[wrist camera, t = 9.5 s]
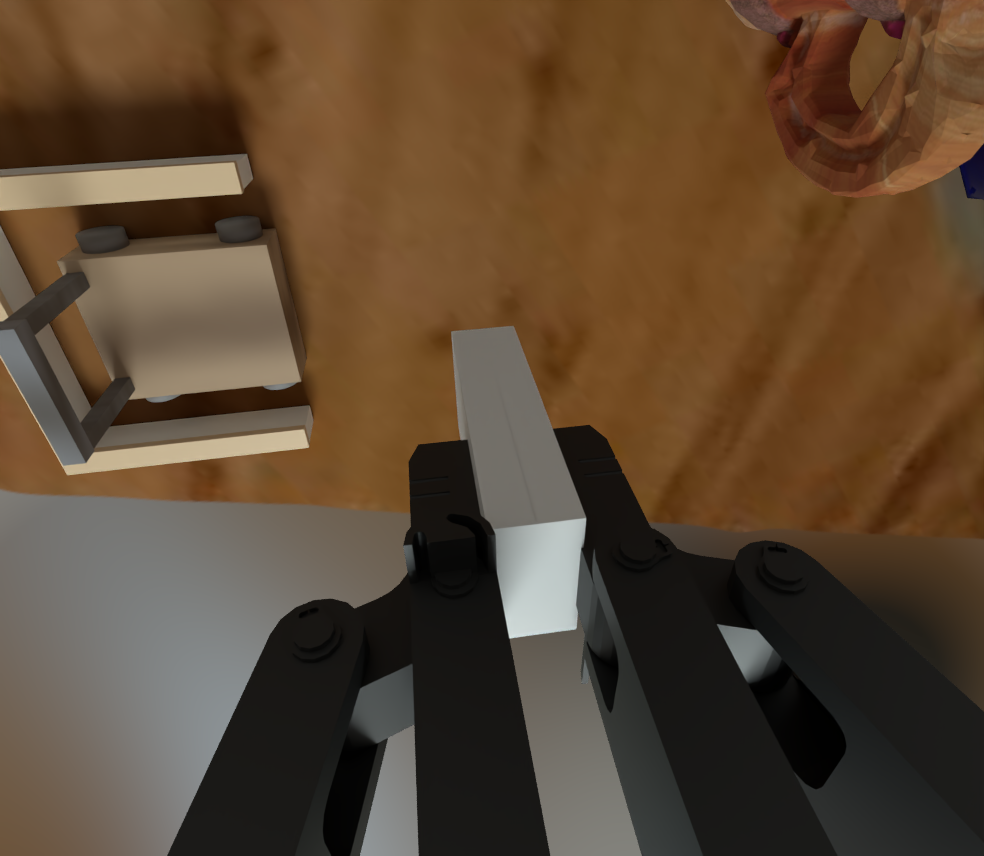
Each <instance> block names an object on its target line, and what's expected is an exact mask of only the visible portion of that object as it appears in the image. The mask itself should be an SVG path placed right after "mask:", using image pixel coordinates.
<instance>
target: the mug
mask: <svg viewBox="0 0 984 856" xmlns="http://www.w3.org/2000/svg"><path fill="white" fill-rule="evenodd" d="M725 1H726V2H727V3H728V4H729V5H730V7H731V8H732V9H733V11H734V13H735V14H736V16H737V17H738V18H739V19H740V20H741V21H742V22H743V23H744V24H745V26H747V27H749V28H753V29H756V30H763V31H766V32H769V33H771V34H774V35H776V36H777V39H778V41H779V42H780V43H781V44H782V45H783V46H785V47H788V48H791V49H790V51H789V52H788V54H787V56H786V58H785V59H784V61H783V62H782V64H781V66H780V67H779V69H778V70H777V72H776V73H775V75H774V76H773V78H772V80H771V82H770V84H769V86H768V88H767V90H766V92H765V94H766V98H767V101H768V104H769V107H770V111H771V114H772V117H773V120H774V123H775V127H776V130H777V133H778V135H779V137H780V140H781V142H782V144H783V147H784V150H785V154H786V156H787V157H788V159H789V160H790V162H791V163H792V164H793V166H794V167H795V168H796V169H797V170H798V171H799V172H800V173H801V174H802V175H803V176H804V177H805V178H806V179H808V180H809V181H811V182H812V183H813V184H815V185H816V186H818V187H820V188H823V189H825V190H828V191H830V192H831V193H832V194H833V195H842V196H849V197H856V198H857V197H866V196H873V195H881V194H892V195H894V194H896V193H900V192H906V191H909V190H912V189H915V188H917V187H920V186H922V185H924V184H926V183H929V182H931V181H933V180H935V179H938V178H940V177H942V176H944V175H945V174H947V173H948V172H950V171H952V170H953V169H955V168H957V167H958V166H960V165H961V164H963V163H965V162H966V161H968V160H969V159H971V158H972V157H973V155H974V154H975V153H976V152H977V151H978V150H979V148H980V147H981V146H982V145H983V144H984V0H725ZM868 18H872V19H875V20H878V21H880V22H881V24H882V26H883V28H884V30H885V32H886V33H887V34H888V35H889V36H891V37H894V38H898V39H901V42H900V46H899V50H898V54H897V57H896V59H895V62H894V64H893V66H892V67H891V69H890V70H889V72H888V73H887V74H886V76H885V77H884V79H883V80H882V82H881V83H880V84H879V86H878V87H877V89H876V90H875V92H874V93H873V95H872V96H871V97H870V99H869V100H868V102H867V104H866V105H865V107H864V109H863V110H862V111H860V109H859V107H858V106H857V104H856V102H855V100H854V99H853V96H852V93H851V90H850V87H849V82H850V59H851V55H852V53H853V51H854V49H855V47H856V45H857V43H858V40H859V37H860V34H861V32H862V30H863V28H864V26H865V24H866V22H867V19H868Z"/></svg>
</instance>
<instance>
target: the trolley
mask: <svg viewBox="0 0 984 856" xmlns="http://www.w3.org/2000/svg"><path fill="white" fill-rule="evenodd" d="M215 227H216V230H217V233H209V234H196V235H183V236H170V237H157V238H144V239H130V240H128V237H127V235H126V232H125V229H124V227H122V226H101V227H95V228H90V229H87V230H83V231H81V232H78V233H77V234H76V235H75V236H76V238H77V241H78V243H79V245H80V246H78V247H77V248H75V249H74V250H72V251H71V252H70V253H68V254H67V255H65V256H64V257H63V258H61V259H60V260H58V261H57V263H58V265H59V268H60V270H61V272H62V274H63V276H62V277H61V278H59V279H58V280H57V281H55V282H54V283H53V284H52V285H50V286H49V287H48V288H46V289H45V290H44V291H42V292H41V293H40V294H38V295H37V296H36V297H34V298H33V299H32V300H30V301H29V302H28V303H26V304H25V305H24V306H22V307H21V308H20V309H19V310H17V311H16V312H15V313H13V314H12V315H11V316H9V317H8V318H7V319H5V320H4V321H0V355H1V357H2V359H3V361H4V362H5V364H6V366H7V368H8V369H9V371H10V373H11V375H12V376H13V378H14V380H15V382H16V384H17V385H18V387H19V389H20V391H21V392H22V394H23V396H24V398H25V399H26V401H27V403H28V405H29V406H30V408H31V410H32V412H33V413H34V415H35V417H36V419H37V420H38V422H39V424H40V426H41V427H42V429H43V431H44V433H45V434H46V436H47V438H48V440H49V442H50V443H51V445H52V447H53V449H54V450H55V452H56V454H57V456H58V457H59V459H60V461H61V463H62V464H63V466H66V465H75V464H83V463H87V461H88V460H89V458H90V457H91V455H92V454H93V452H94V451H95V450H94V448H95V447H96V445H97V444H98V442H99V441H100V440H101V438H102V437H103V435H104V434H105V432H106V431H107V429H108V428H109V427H110V425H111V424H112V422H113V421H114V419H115V418H116V417H117V415H118V414H119V412H120V411H121V409H122V408H123V407H124V405H125V404H126V402H127V401H128V400H131V399H140V398H146V400H148V401H150V402H164V401H168V400H171V399H174V398H176V397H178V396H180V395H181V394H189V393H198V392H208V391H218V390H227V389H237V388H247V387H256V386H263V387H264V388H266V389H269V390H280V389H285V388H288V387H291V386H293V385H294V384H296V383H297V382H301V380H302V376H303V372H304V368H305V363H306V359H307V357H306V353H305V349H304V345H303V340H302V336H301V332H300V328H299V324H298V320H297V315H296V311H295V307H294V303H293V299H292V295H291V290H290V286H289V282H288V278H287V274H286V270H285V265H284V261H283V257H282V253H281V249H280V245H279V240H278V236H277V232H276V228H275V229H262V228H261V224H260V220H259V218H258V217H256V216H236V217H230V218H225V219H222V220H219V221H217V222H216V223H215ZM74 301H75V302H76V304H77V307H78V309H79V311H80V313H81V315H82V317H83V320H84V322H85V324H86V326H87V328H88V330H89V333H90V335H91V337H92V339H93V341H94V343H95V346H96V348H97V350H98V352H99V354H100V356H101V359H102V361H103V363H104V365H105V367H106V369H107V371H108V374H109V376H110V378H111V380H112V383H111V384H110V385H109V387H108V388H107V389H106V390H105V392H104V393H103V394H102V396H101V397H100V398H99V399H98V401H97V402H96V403H95V405H94V406H93V407H92V408H91V410H90V411H89V412H88V414H87V415H86V416H85V417H84V419H83V420H82V421H81V423H80V421H79V419H78V417H77V416H76V414H75V412H74V410H73V408H72V406H71V404H70V402H69V400H68V398H67V396H66V394H65V393H64V391H63V389H62V387H61V385H60V383H59V381H58V379H57V377H56V375H55V373H54V371H53V370H52V368H51V366H50V364H49V362H48V360H47V358H46V356H45V354H44V352H43V350H42V348H41V346H40V345H39V343H38V341H37V339H36V337H35V335H36V334H37V333H38V332H39V331H40V330H42V329H43V328H44V327H45V326H46V325H47V324H49V323H50V322H51V321H52V320H53V319H54V318H55V317H57V316H58V315H59V314H60V313H61V312H62V311H63V310H65V309H66V308H67V307H68V306H69V305H70V304H72V303H73V302H74Z"/></svg>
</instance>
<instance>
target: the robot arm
mask: <svg viewBox="0 0 984 856" xmlns="http://www.w3.org/2000/svg"><path fill="white" fill-rule="evenodd" d="M451 334H452V347H453V360H454V373H455V386H456V399H457V413H458V425H459V432H460V438H461V440H458V441H448V442H439V443H429V444H420V445H418V446H417V448H416V450H415V452H414V453H413V455H412V457H411V459H410V460H409V482H410V484H409V485H410V513H411V528H410V529H409V530H408V531H407V533H406V537H405V541H404V545H403V547H404V553H405V558H406V564H407V570H408V573H407V575H406V576H405V578H404V579H403V580H402V581H401V583H400V584H399V585H398V586H397V587H395V588H394V589H393V590H392V591H390V592H389V593H388V594H386V595H384V596H382V597H380V598H378V599H376V600H374V601H371V602H369V603H367V604H364V605H362V606H360V607H357V608H355V609H354V608H353V607H352V606H351V605H349V604H348V603H346V602H342V601H339V600H335V599H322V600H313V601H311V602H308V603H306V604H303V605H301V606H298V607H296V608H295V609H293V610H292V611H291V612H290V613H288V614H287V615H286V616H284V617H283V618H282V619H281V620H280V621H279V622H278V624H277V625H276V627H275V628H274V630H273V631H272V633H271V634H270V636H269V638H268V640H267V642H266V645H265V647H264V649H263V651H262V653H261V655H260V657H259V660H258V662H257V664H256V666H255V668H254V671H253V672H252V675H251V677H250V679H249V681H248V683H247V685H246V687H245V690H244V692H243V694H242V696H241V698H240V701H239V703H238V705H237V707H236V709H235V711H234V713H233V715H232V718H231V720H230V722H229V724H228V727H227V728H226V731H225V733H224V735H223V737H222V739H221V741H220V743H219V745H218V748H217V750H216V752H215V754H214V756H213V758H212V761H211V763H210V765H209V767H208V769H207V771H206V773H205V776H204V778H203V780H202V782H201V784H200V786H199V789H198V791H197V793H196V795H195V797H194V799H193V801H192V803H191V806H190V808H189V810H188V812H187V814H186V816H185V819H184V821H183V823H182V825H181V827H180V829H179V831H178V834H177V836H176V838H175V840H174V842H173V844H172V846H171V849H170V851H169V853H168V855H167V856H360V852H361V848H362V844H363V840H364V835H365V832H366V827H367V823H368V819H369V815H370V811H371V806H372V802H373V798H374V794H375V790H376V786H377V782H378V777H379V773H380V769H381V765H382V761H383V756H384V752H385V748H386V744H387V740H388V737H390V736H392V735H394V734H396V733H398V732H400V731H402V730H404V729H406V728H408V727H410V726H412V725H414V726H415V754H416V755H415V756H416V785H417V816H418V845H419V856H550V852H549V847H548V841H547V836H546V831H545V826H544V820H543V815H542V809H541V804H540V799H539V793H538V788H537V783H536V778H535V772H534V767H533V762H532V756H531V751H530V746H529V740H528V735H527V730H526V725H525V720H524V714H523V708H522V703H521V698H520V692H519V687H518V682H517V676H516V672H515V666H514V660H513V655H512V650H511V645H510V639H509V638H516V637H522V636H530V635H537V634H544V633H551V632H559V631H566V630H573V629H576V626H577V616H578V613H579V617H580V620H581V623H582V627H583V629H584V633H585V638H584V647H583V657H582V666H581V680H582V684H585V683H588V679H589V676H590V679H591V683H592V686H593V689H594V693H595V696H596V700H597V703H598V707H599V710H600V713H601V717H602V720H603V723H604V727H605V730H606V734H607V737H608V741H609V744H610V747H611V751H612V755H613V758H614V762H615V765H616V768H617V772H618V775H619V778H620V782H621V786H622V789H623V792H624V796H625V799H626V803H627V806H628V810H629V813H630V816H631V820H632V823H633V826H634V830H635V834H636V837H637V840H638V844H639V847H640V851H641V854H642V856H984V712H983V711H982V710H981V709H980V708H979V707H978V706H977V705H976V704H975V703H973V702H972V701H971V700H970V699H969V698H968V697H967V696H966V695H965V694H964V693H962V692H961V691H960V690H959V689H958V688H957V687H956V686H955V685H954V684H952V683H951V682H950V681H949V680H948V679H947V678H946V677H945V676H944V675H943V674H941V673H940V672H939V671H938V670H937V669H936V668H935V667H934V666H933V665H931V664H930V663H929V662H928V661H927V660H926V659H925V658H923V656H921V655H920V654H919V653H918V652H917V651H916V650H915V649H914V648H913V647H911V646H910V645H909V644H908V643H907V642H906V641H905V640H904V639H903V638H902V637H900V636H899V635H898V634H897V633H896V632H895V631H894V630H893V629H892V628H890V627H889V626H888V625H887V624H886V623H885V622H884V621H882V619H881V618H879V617H878V616H877V615H876V614H875V613H874V612H873V611H872V610H870V609H869V608H868V607H867V606H866V605H865V604H864V603H863V602H862V601H861V600H859V599H858V598H857V597H856V596H855V595H854V594H853V593H852V592H851V591H849V590H848V589H847V588H846V587H845V586H844V585H843V584H842V583H841V582H840V581H838V580H837V579H836V578H835V577H834V576H833V575H832V574H831V573H830V572H828V571H827V570H826V569H825V568H824V567H823V566H822V565H821V564H820V563H818V562H817V561H816V560H815V559H813V558H812V557H811V556H809V555H808V554H806V553H805V552H803V551H802V550H800V549H798V548H795V547H793V546H790V545H787V544H785V543H780V542H773V541H760V542H753V543H750V544H748V545H746V546H745V547H743V548H742V549H740V550H739V552H738V555H737V556H736V559H735V560H728V559H720V558H713V557H705V556H699V555H694V554H690V553H686V552H684V551H681V550H679V549H677V548H676V546H675V545H674V544H673V543H672V542H671V541H670V539H669V538H668V537H666V536H665V535H663V534H662V533H660V532H659V531H657V530H655V529H652V528H651V527H650V525H649V523H648V521H647V519H646V517H645V515H644V513H643V511H642V509H641V507H640V505H639V503H638V501H637V499H636V497H635V495H634V493H633V491H632V489H631V487H630V485H629V483H628V481H627V479H626V477H625V475H624V473H623V474H622V469H621V467H620V465H619V463H618V461H617V459H615V455H614V453H613V451H612V449H611V447H610V445H609V443H608V441H607V439H606V438H605V437H604V436H602V435H601V434H600V433H599V432H598V431H596V430H595V429H594V428H593V427H591V426H590V425H585V426H575V427H566V428H556V429H552V426H551V423H550V421H549V418H548V416H547V413H546V410H545V408H544V405H543V402H542V400H541V397H540V394H539V392H538V389H537V387H536V384H535V381H534V379H533V376H532V373H531V371H530V368H529V365H528V363H527V360H526V357H525V355H524V352H523V350H522V347H521V344H520V342H519V339H518V336H517V334H516V331H515V328H514V326H508V327H496V328H485V329H474V330H462V331H451Z"/></svg>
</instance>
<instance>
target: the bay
mask: <svg viewBox="0 0 984 856" xmlns="http://www.w3.org/2000/svg"><path fill="white" fill-rule="evenodd" d="M252 180H253V176H252V172H251V168H250V164H249V160H248V156H247V154H236V155H220V156H204V157H189V158H173V159H157V160H141V161H125V162H109V163H93V164H78V165H62V166H46V167H30V168H14V169H0V211H2V210H17V209H31V208H45V207H60V206H74V205H89V204H103V203H117V202H132V201H146V200H160V199H175V198H189V197H203V196H218V195H232V194H242V193H243V192H244V188H245V187H246V186H247V185H248V184H249V183H250V182H251V181H252ZM34 297H36V296H35V294H34V292H33V290H32V288H31V286H30V284H29V282H28V280H27V278H26V276H25V274H24V272H23V270H22V268H21V266H20V264H19V262H18V260H17V258H16V256H15V254H14V252H13V250H12V248H11V246H10V244H9V242H8V240H7V238H6V236H5V234H4V232H3V230H2V228H1V226H0V321H4V320H5V319H7V318H8V317H9V316H11V315H12V314H13V313H15V312H16V311H17V310H19V309H20V308H21V307H22V306H24V305H25V304H26V303H28V302H29V301H30V300H32V299H33V298H34ZM35 337H36V339H37V341H38V343H39V345H40V346H41V348H42V350H43V352H44V354H45V356H46V358H47V360H48V362H49V364H50V366H51V368H52V370H53V371H54V373H55V375H56V377H57V379H58V381H59V383H60V385H61V387H62V389H63V391H64V393H65V394H66V396H67V398H68V400H69V402H70V404H71V406H72V408H73V410H74V412H75V414H76V416H77V417H78V419H79V421H80V423H81V421H82V420H83V419H84V417H85V416H86V415H87V414H88V412H89V411H90V410H91V406H90V404H89V402H88V400H87V398H86V396H85V394H84V392H83V390H82V388H81V386H80V384H79V382H78V380H77V378H76V376H75V374H74V372H73V370H72V368H71V366H70V364H69V362H68V360H67V358H66V356H65V354H64V352H63V350H62V348H61V346H60V344H59V342H58V340H57V338H56V336H55V334H54V332H53V330H52V328H51V326H50V324H47V325H46V326H45V327H44V328H43V329H42V330H40V331H39V332H38V333H37V334H36V335H35ZM0 358H1V360H2V361H3V359H2V357H1V355H0ZM3 363H4V365H5V367H6V368H7V366H6V364H5V362H4V361H3ZM7 370H8V372H9V374H10V375H11V373H10V371H9V369H8V368H7ZM11 377H12V379H13V381H14V382H15V380H14V378H13V376H12V375H11ZM15 384H16V382H15ZM16 386H17V388H18V389H19V387H18V385H17V384H16ZM19 391H20V389H19ZM20 393H21V395H22V396H23V394H22V392H21V391H20ZM23 398H24V396H23ZM24 400H25V402H26V403H27V401H26V399H25V398H24ZM27 405H28V403H27ZM28 407H29V409H30V410H31V408H30V406H29V405H28ZM31 412H32V410H31ZM32 414H33V416H34V417H35V415H34V413H33V412H32ZM35 419H36V417H35ZM36 421H37V423H38V424H39V422H38V420H37V419H36ZM39 426H40V424H39ZM312 426H313V416H312V412H311V408H310V405H307V406H298V407H288V408H279V409H270V410H260V411H251V412H241V413H232V414H223V415H213V416H204V417H194V418H185V419H176V420H166V421H157V422H148V423H138V424H129V425H119V426H110V427H109V428H108V429H107V431H106V432H105V434H104V435H103V437H102V438H101V440H100V441H99V442H98V444H97V445H96V447H95V448H94V450H95V451H94V452H93V454H92V455H91V457H90V458H89V460H88V461H87V463H83V464H75V465H66V466H63V464H62V463H61V461H60V459H59V457H58V456H57V454H56V452H55V450H54V449H53V447H52V445H51V443H50V442H49V440H48V438H47V436H46V434H45V433H44V431H43V429H42V427H41V426H40V428H41V430H42V431H43V433H44V435H45V437H46V438H47V440H48V442H49V444H50V445H51V447H52V449H53V451H54V452H55V454H56V456H57V458H58V460H59V461H60V463H61V465H62V467H63V468H64V470H65V472H66V474H67V475H73V474H82V473H91V472H99V471H108V470H117V469H126V468H135V467H143V466H152V465H161V464H170V463H178V462H187V461H196V460H205V459H214V458H222V457H231V456H240V455H249V454H257V453H266V452H275V451H284V450H293V449H301V448H309V445H310V436H311V431H312Z"/></svg>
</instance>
